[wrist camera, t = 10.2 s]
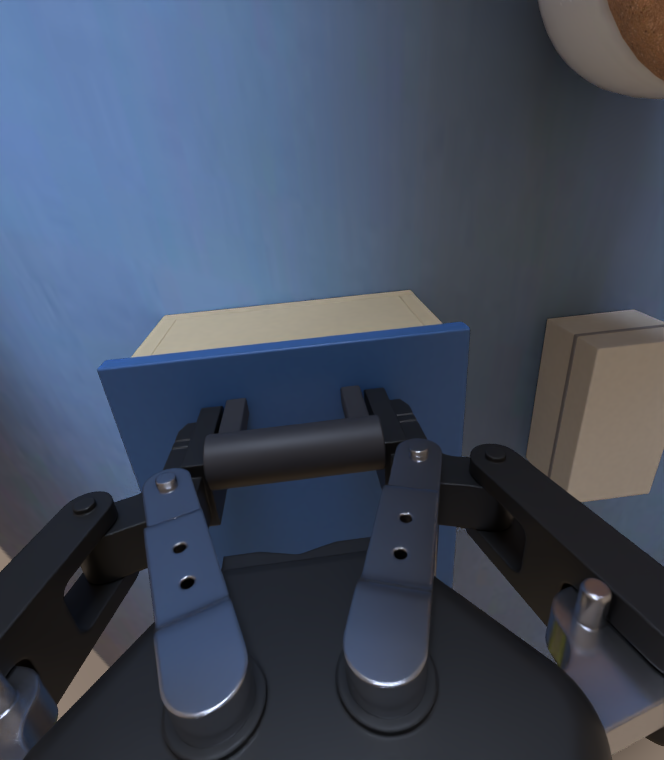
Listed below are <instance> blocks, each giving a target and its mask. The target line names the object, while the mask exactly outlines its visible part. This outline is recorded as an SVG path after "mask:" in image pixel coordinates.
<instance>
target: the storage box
mask: <svg viewBox="0 0 664 760" xmlns="http://www.w3.org/2000/svg"><path fill="white" fill-rule="evenodd" d="M436 324H443V323H442V322H441V321H440V320H439V319H438V318H437V317H436V316H435V315H434V314H433V313H432V312H431V311H430V310H429V309H428V308H427V307H426V306H425V305H424V304H423V303H422V302H421V301H420V300H419V299H418V298H417V297H416V296H415V295H414V293H413V292H412V291H411V290H405V291H395V292H386V293H376V294H366V295H357V296H347V297H338V298H328V299H319V300H309V301H299V302H290V303H280V304H271V305H261V306H252V307H242V308H232V309H223V310H213V311H204V312H194V313H185V314H175V315H165V316H164V317H163V318H162V319H161V321H160V322H159V323H158V324H157V326H156V327H155V328H154V329H153V330H152V332H151V333H150V334H149V335H148V337H147V338H146V339H145V340H144V342H143V343H142V344H141V345H140V347H139V348H138V349H137V350H136V352H135V353H134V354H133V355H132V357H141V356H151V355H160V354H169V353H178V352H187V351H197V350H206V349H215V348H224V347H233V346H243V345H252V344H261V343H270V342H279V341H289V340H298V339H307V338H316V337H325V336H335V335H344V334H353V333H362V332H371V331H381V330H390V329H399V328H408V327H417V326H426V325H436ZM132 357H131V358H132Z"/></svg>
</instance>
